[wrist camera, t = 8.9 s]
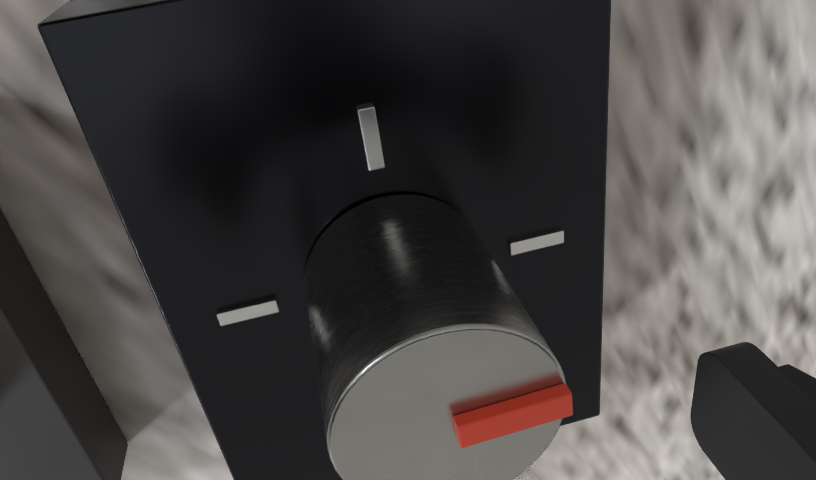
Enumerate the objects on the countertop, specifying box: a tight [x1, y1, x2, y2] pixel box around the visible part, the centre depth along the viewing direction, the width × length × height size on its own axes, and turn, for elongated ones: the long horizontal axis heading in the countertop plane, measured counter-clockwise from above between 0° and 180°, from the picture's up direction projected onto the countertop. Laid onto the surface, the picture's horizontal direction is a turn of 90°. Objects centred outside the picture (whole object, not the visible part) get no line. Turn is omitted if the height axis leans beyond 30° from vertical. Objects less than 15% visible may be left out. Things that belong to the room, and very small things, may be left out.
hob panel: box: [38, 0, 611, 480], centre depth 17 cm, size 14×11×3 cm
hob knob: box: [305, 194, 573, 480], centre depth 13 cm, size 4×4×5 cm
